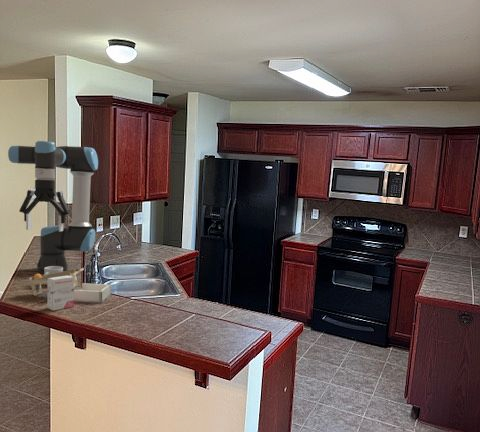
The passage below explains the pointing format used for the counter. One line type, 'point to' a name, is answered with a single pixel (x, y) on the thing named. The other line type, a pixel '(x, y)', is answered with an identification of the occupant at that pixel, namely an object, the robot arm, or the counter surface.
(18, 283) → the counter surface
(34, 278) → the ball
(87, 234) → the robot arm
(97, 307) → the counter surface
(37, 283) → the lever
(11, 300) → the counter surface
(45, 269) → the cup
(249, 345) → the counter surface
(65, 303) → the ink box
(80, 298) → the dish
